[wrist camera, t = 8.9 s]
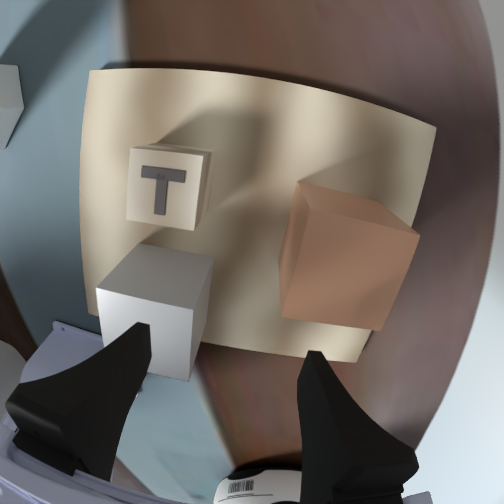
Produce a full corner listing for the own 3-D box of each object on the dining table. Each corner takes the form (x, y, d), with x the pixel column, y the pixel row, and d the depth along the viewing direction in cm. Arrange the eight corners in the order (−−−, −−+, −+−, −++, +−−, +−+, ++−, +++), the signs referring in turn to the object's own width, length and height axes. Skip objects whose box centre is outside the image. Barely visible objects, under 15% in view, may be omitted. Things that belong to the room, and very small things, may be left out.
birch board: (93, 307, 25) (88, 313, 24) (97, 72, 17) (90, 70, 16) (353, 355, 25) (355, 362, 24) (429, 126, 17) (436, 127, 16)
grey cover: (139, 306, 23) (106, 360, 17) (138, 243, 21) (95, 287, 15) (206, 321, 23) (188, 381, 17) (214, 256, 21) (193, 309, 15)
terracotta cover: (278, 261, 21) (281, 316, 15) (296, 181, 19) (310, 208, 13) (353, 275, 21) (380, 331, 15) (377, 201, 19) (420, 235, 13)
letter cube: (150, 201, 20) (125, 219, 16) (156, 142, 18) (129, 148, 14) (208, 210, 20) (193, 231, 16) (216, 149, 18) (202, 156, 14)
